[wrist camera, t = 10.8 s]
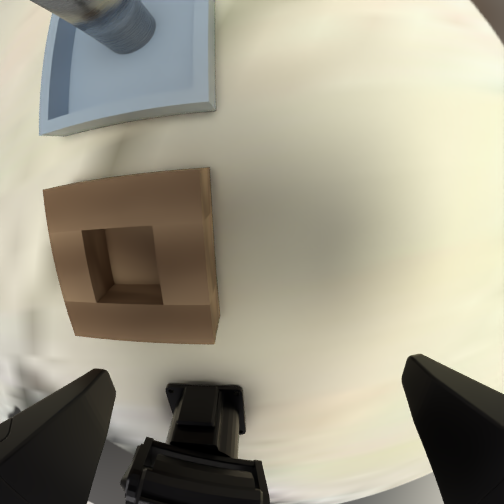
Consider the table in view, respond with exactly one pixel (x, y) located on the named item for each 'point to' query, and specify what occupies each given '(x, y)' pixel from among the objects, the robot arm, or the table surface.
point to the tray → (129, 72)
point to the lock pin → (107, 21)
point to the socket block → (137, 256)
